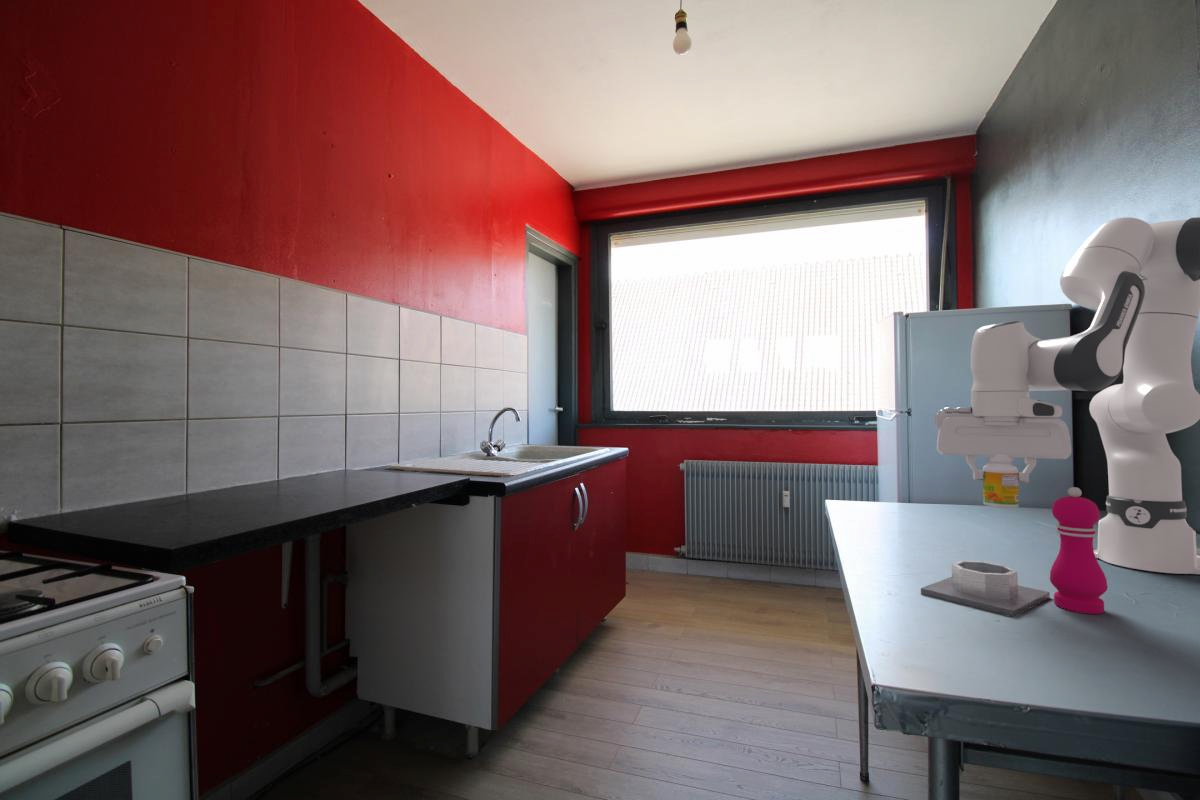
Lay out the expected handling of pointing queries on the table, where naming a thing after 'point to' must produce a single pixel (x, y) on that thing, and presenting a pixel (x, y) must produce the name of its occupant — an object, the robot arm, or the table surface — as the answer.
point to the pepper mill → (1077, 556)
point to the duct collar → (986, 588)
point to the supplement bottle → (1000, 482)
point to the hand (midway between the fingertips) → (1000, 481)
